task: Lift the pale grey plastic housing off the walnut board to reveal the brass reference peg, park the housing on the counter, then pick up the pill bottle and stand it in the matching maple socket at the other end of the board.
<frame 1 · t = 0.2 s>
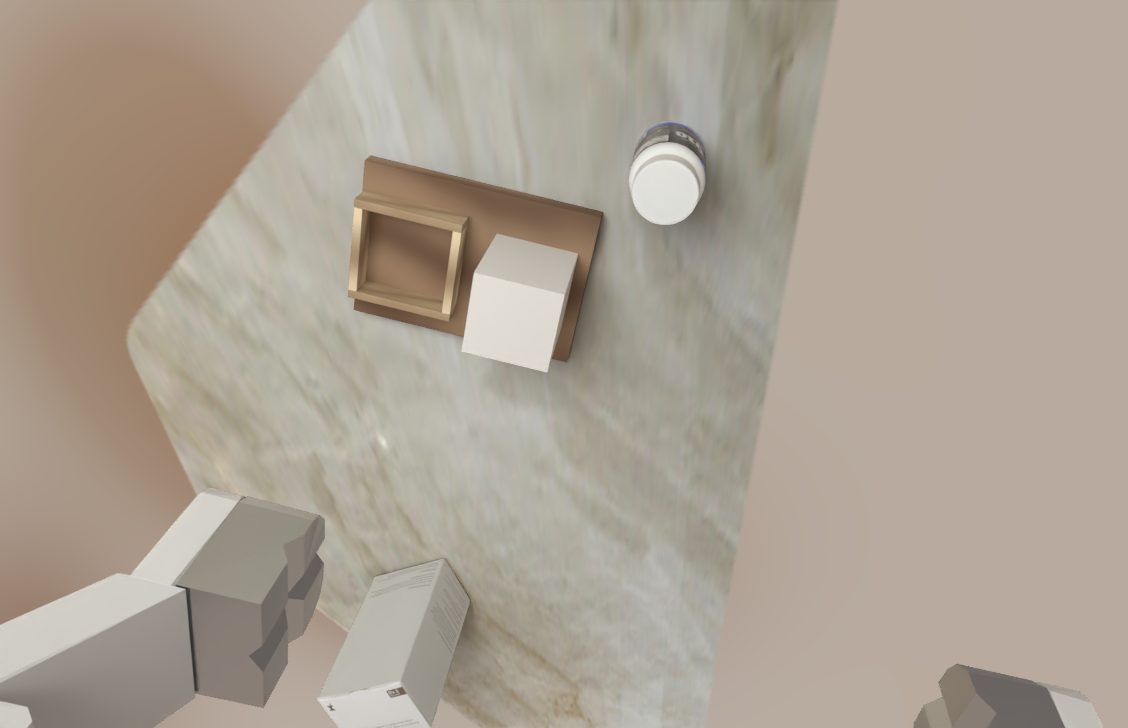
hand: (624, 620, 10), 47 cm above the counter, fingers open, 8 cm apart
housing: (530, 280, 59), point 1 cm above the counter, touching board
board: (474, 259, 61), on the counter
pill bottle: (669, 154, 55), on the counter
skincare box: (424, 583, 79), on the counter
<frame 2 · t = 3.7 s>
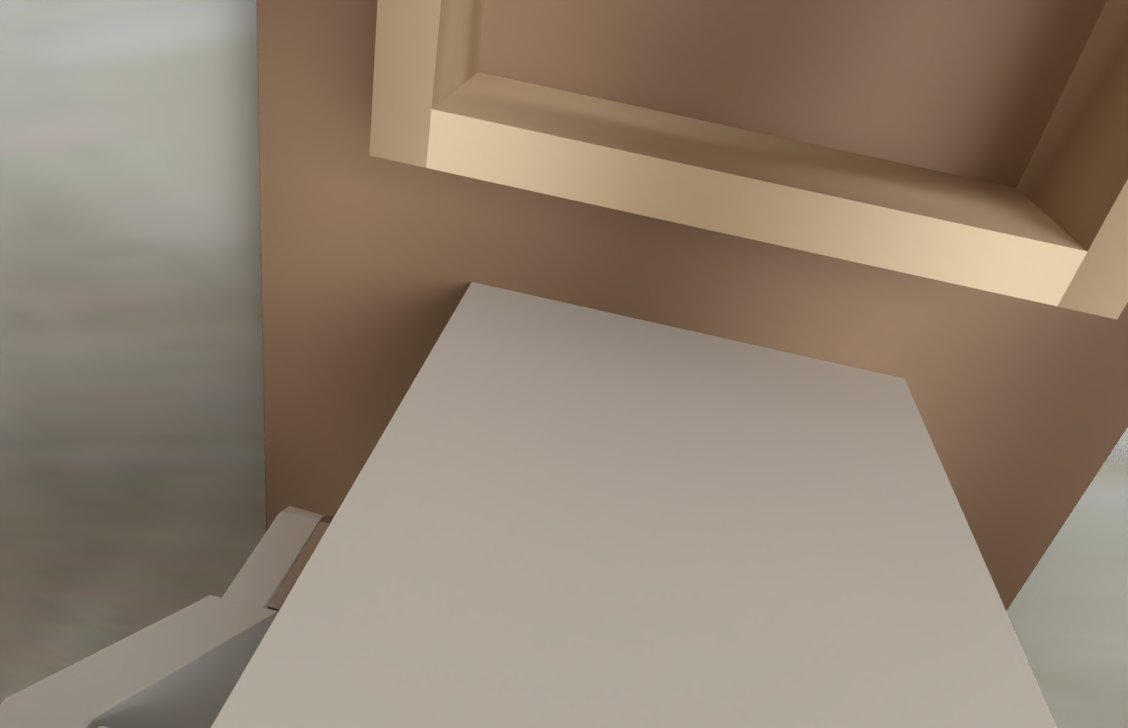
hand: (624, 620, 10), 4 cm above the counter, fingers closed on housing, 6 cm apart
housing: (637, 497, 13), point 1 cm above the counter, touching board, gripper
board: (714, 197, 11), on the counter
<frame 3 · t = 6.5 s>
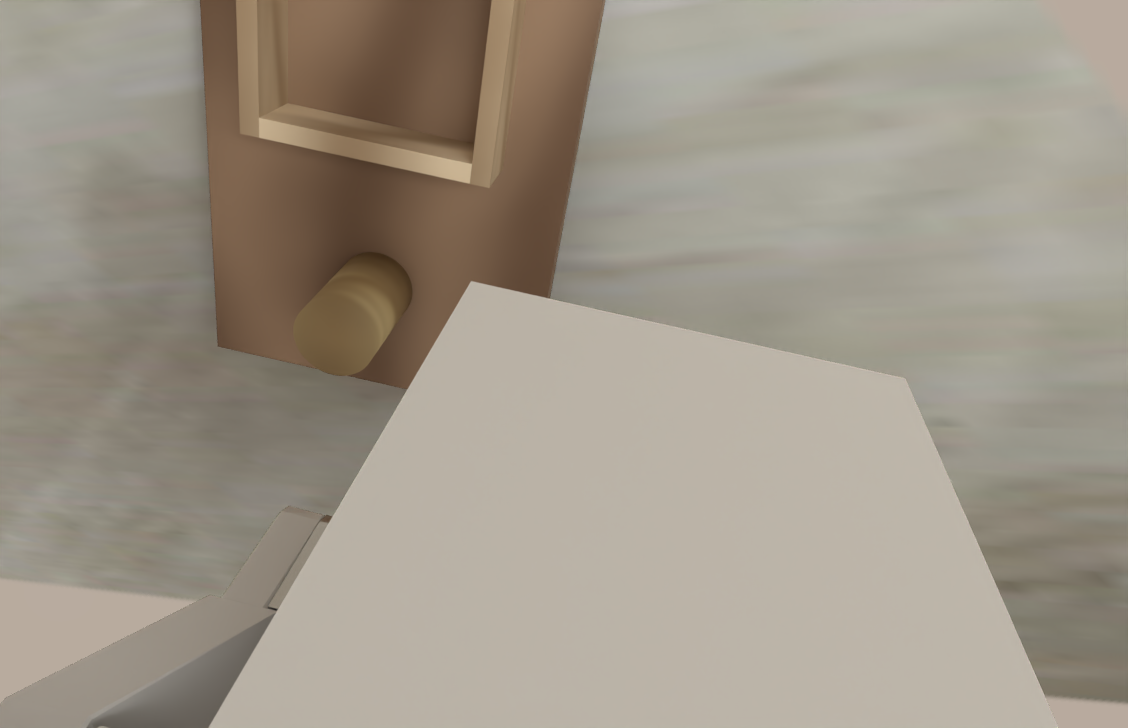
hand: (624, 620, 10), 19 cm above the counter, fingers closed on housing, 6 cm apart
housing: (637, 497, 13), point 16 cm above the counter, touching gripper
board: (396, 153, 27), on the counter
when the fingers open (4 cm above the counter, at t = 9.2 s): housing drops 2 cm, on the counter.
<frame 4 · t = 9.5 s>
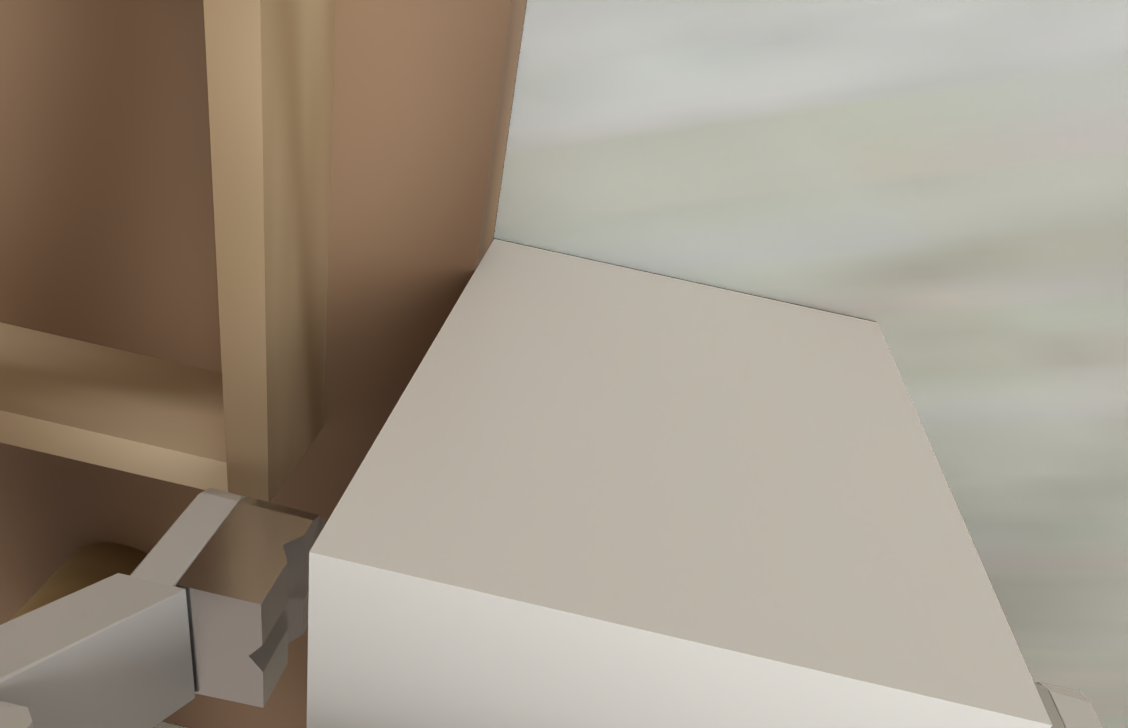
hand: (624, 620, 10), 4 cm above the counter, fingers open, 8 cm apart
housing: (641, 436, 14), on the counter
board: (144, 371, 15), on the counter
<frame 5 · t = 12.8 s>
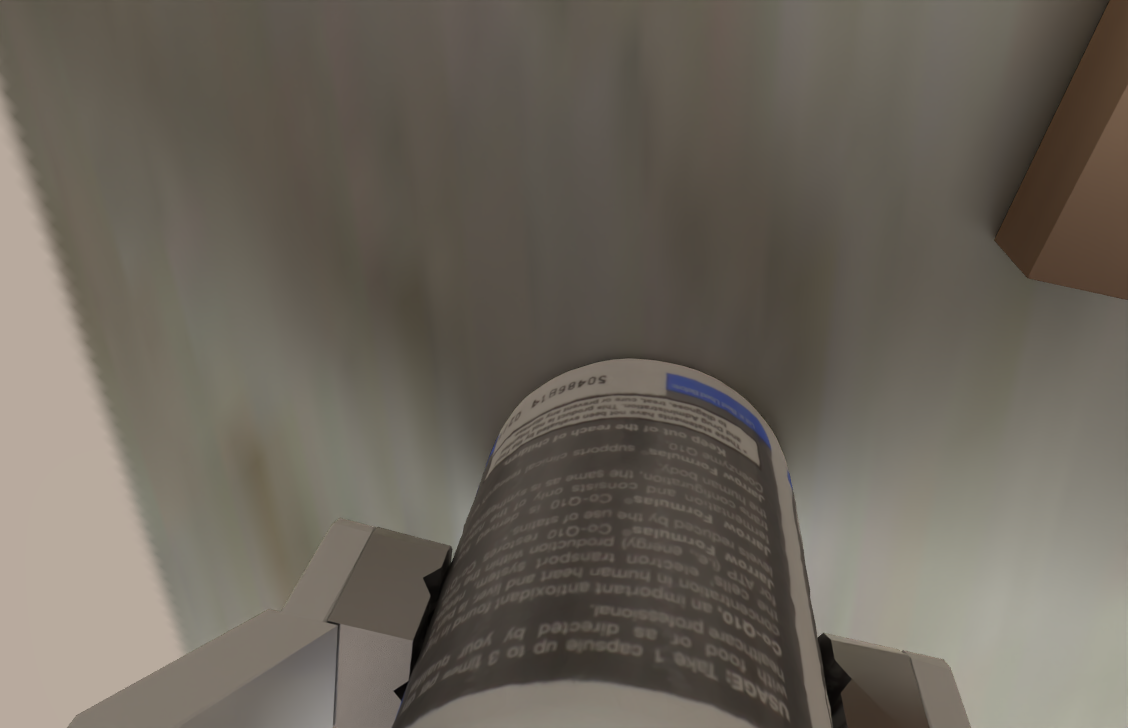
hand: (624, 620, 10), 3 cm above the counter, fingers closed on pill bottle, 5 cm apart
pill bottle: (639, 472, 13), on the counter, touching gripper
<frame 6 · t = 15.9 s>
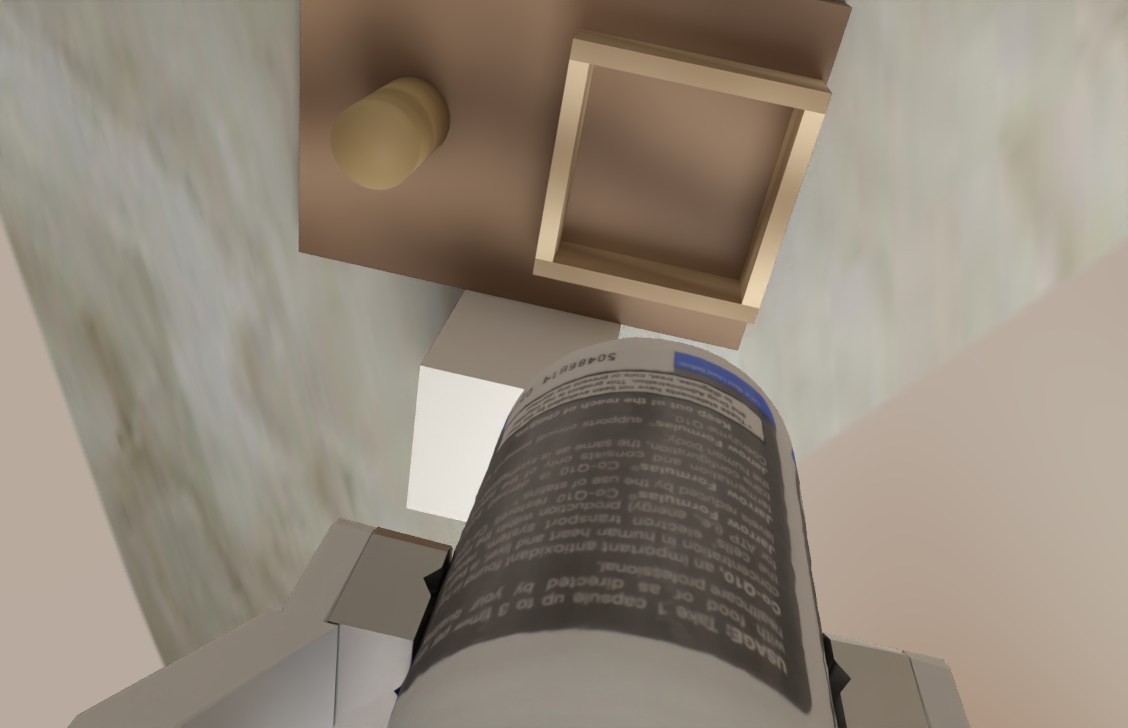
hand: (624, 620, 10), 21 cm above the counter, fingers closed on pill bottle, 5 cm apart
housing: (535, 358, 33), on the counter
board: (547, 135, 28), on the counter
pill bottle: (646, 451, 13), point 17 cm above the counter, touching gripper
when the fingers open (6 cm above the counter, at t = 19.1 s): pill bottle stays where it is, resting on board.
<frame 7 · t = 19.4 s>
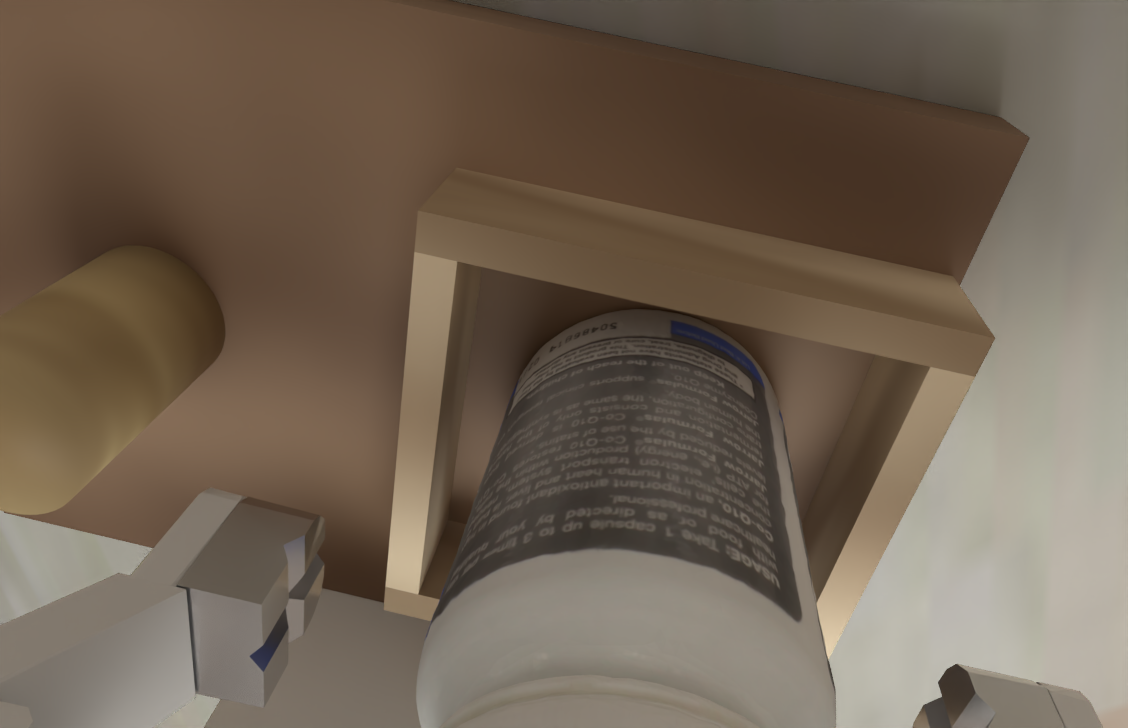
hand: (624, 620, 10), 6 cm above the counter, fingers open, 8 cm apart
housing: (428, 659, 20), on the counter
board: (418, 337, 15), on the counter
pill bottle: (644, 418, 14), point 1 cm above the counter, touching board
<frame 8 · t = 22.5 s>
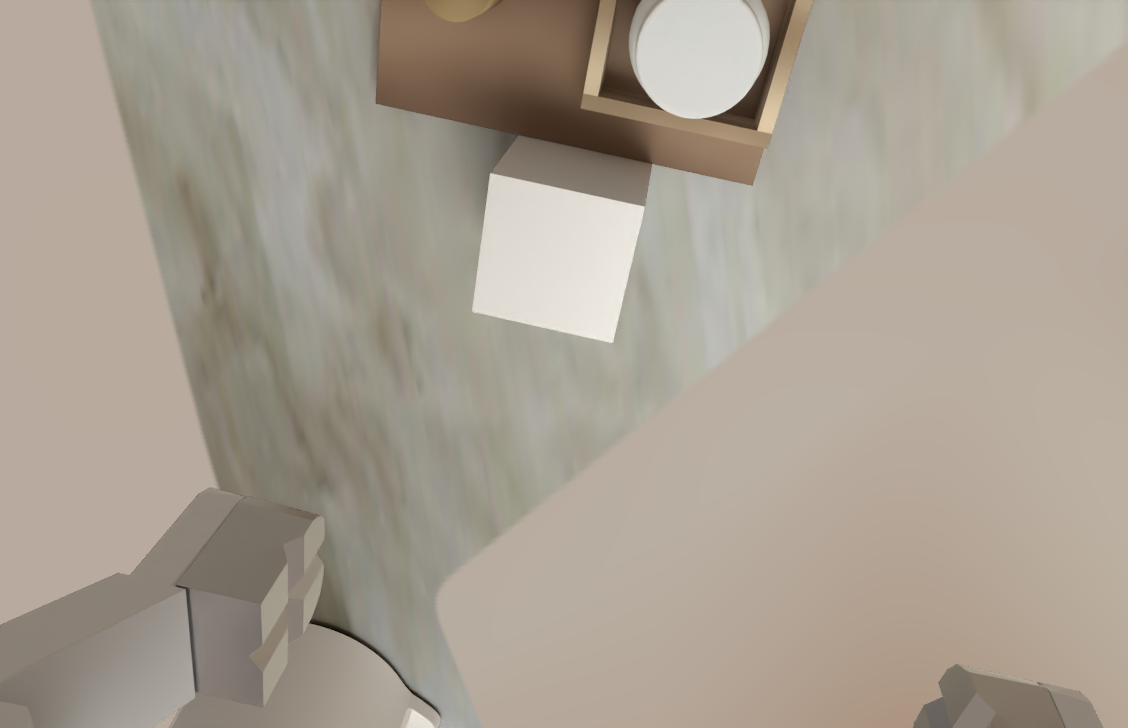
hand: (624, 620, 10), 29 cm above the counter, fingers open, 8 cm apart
housing: (576, 205, 38), on the counter
pill bottle: (697, 20, 33), point 1 cm above the counter, touching board
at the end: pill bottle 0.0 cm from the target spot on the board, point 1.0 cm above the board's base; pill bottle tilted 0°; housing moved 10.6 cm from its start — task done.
